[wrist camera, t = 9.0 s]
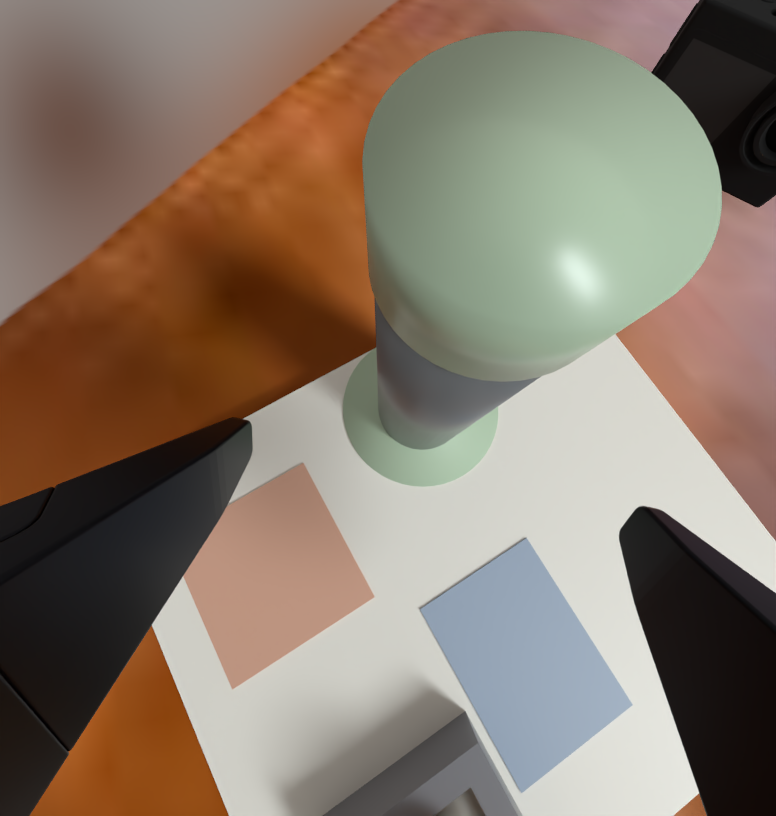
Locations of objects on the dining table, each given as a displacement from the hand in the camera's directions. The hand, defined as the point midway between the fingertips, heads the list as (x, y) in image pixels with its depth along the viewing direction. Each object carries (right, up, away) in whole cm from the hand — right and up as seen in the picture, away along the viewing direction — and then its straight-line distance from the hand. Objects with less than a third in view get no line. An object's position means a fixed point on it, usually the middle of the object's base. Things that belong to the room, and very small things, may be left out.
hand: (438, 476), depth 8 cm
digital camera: (+19, +18, +15) cm, 30 cm away
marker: (+1, +2, +10) cm, 10 cm away
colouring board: (+3, -6, +9) cm, 11 cm away
